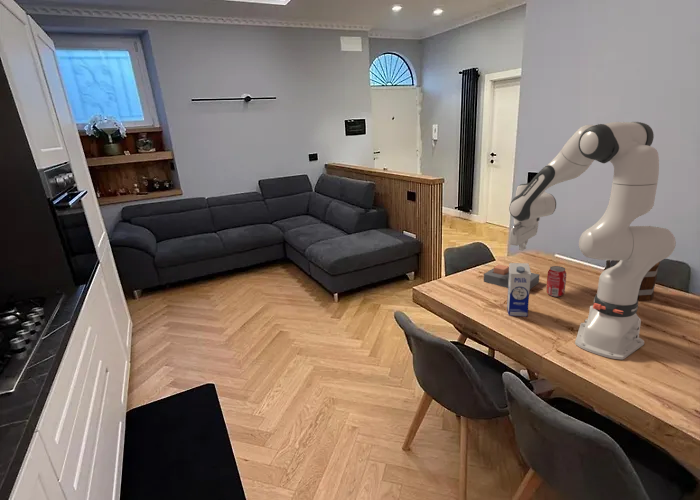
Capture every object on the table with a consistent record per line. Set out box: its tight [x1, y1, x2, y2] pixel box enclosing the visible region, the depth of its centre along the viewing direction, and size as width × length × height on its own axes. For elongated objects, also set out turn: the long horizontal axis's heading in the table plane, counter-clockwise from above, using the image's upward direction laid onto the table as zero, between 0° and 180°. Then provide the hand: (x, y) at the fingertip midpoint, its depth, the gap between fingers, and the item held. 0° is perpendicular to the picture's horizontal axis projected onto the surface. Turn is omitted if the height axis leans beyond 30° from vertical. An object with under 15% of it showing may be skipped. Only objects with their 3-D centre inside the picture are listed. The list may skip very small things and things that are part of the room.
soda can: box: [545, 265, 567, 298], centre depth 160 cm, size 7×7×12 cm
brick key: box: [493, 264, 509, 275], centre depth 179 cm, size 5×5×3 cm
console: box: [483, 267, 541, 290], centre depth 176 cm, size 14×20×4 cm
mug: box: [605, 260, 661, 302], centre depth 157 cm, size 20×14×15 cm
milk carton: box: [506, 262, 532, 318], centre depth 147 cm, size 7×7×20 cm
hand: (522, 249), depth 168 cm, fingers closed
